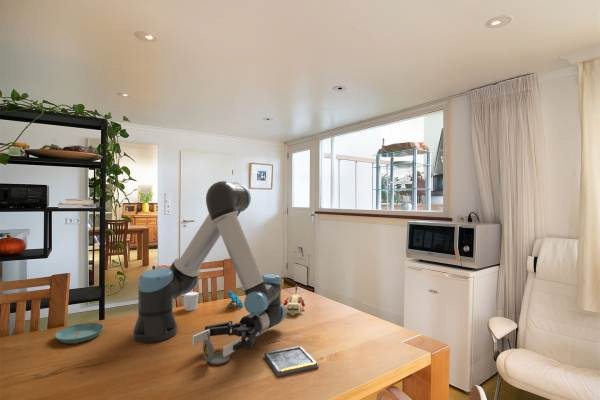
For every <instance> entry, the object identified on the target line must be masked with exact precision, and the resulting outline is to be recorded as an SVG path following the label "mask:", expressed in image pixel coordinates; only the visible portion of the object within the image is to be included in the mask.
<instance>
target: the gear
mask: <svg viewBox="0 0 600 400" xmlns="http://www.w3.org/2000/svg"><path fill="white" fill-rule="evenodd" d="M227 296H228V298H229V299H231V300H230V302H229V303H228V304H227V305H226V307H227V308H230V306H232V305H233V304H235V305H236V306H238V307H239V308H243V307H244V303H243V301H242V300H241V299H240V298H239V296H238V295H237V294H236V293H235V292H233V291H231V290H227Z"/></svg>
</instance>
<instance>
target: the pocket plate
mask: <svg viewBox="0 0 600 400" xmlns="http://www.w3.org/2000/svg"><path fill="white" fill-rule="evenodd" d="M263 357H264V359H265V360H266V362H267V364H268V365H269V367H270V368H271V369H272V370H273V372H274V373H275V375H276V377H277V378H279V377H283V376H284V377H285V376H288V375H293V374H297V373H302V372H306V371H311V370H314V369H318V368H319V363H318V362H317V361H316V360H315V359H314V358H313V357H312V356H311V355H310V354H309V353H308V351H306V350H305V348H303V347H302V346H301V345H299V346H293V347H288V348H283V349H277V350H272V351H267V352H265V353H263Z"/></svg>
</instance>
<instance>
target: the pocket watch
mask: <svg viewBox="0 0 600 400" xmlns="http://www.w3.org/2000/svg"><path fill="white" fill-rule="evenodd" d="M207 332H208V331H207ZM207 332H206V333H207ZM207 335H208V336H207V337H208V339H205V340H204V341H202V342H203V343H202V352H203V356H204V359H205V360H206V362H207V363H209V364H211V365H223V364H225V363H228V362H229V361H230V358H231V356H230V355H231V354H229V355H227V356H225V357H224V356H223V352H216V353H215V349H214V345H213V343H212V340H211V336H210V334H209V332H208V334H207Z"/></svg>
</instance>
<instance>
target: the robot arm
mask: <svg viewBox="0 0 600 400" xmlns="http://www.w3.org/2000/svg"><path fill="white" fill-rule="evenodd" d="M205 194H206V196H205V204H206V209H207V211H208V215H206V218H205V219H204V220H203V222H202V224H201V225H200V227H199V228H198V230H197V231H196V232H195V234H194V236H193V238H192V239H191V240H190V242H189V244H188V246H187V247H186V249H185V251H183V253H182V254H181V257H177V258H175V259H174V260H173V262H172V263H171V265H170V266H169V268H167V267H166V268H165V267H160V268H155V269H149V270H147V271H144V272H143V273H141V274H140V275H139V278H138V285H137V288H138V289H137V290H138V303H137V304H138V305H137V306H138V307H137V309H138V311H137V312H138V313H137V315H138V316H137V319H136V321H135V323H134V327H133V329H132V340H133V341H135V342H138V343H144V344H148V343H149V344H151V343H158V342H162V341H165V340H170V339H171V338H173V337H174V336H176V334H177V333H178V324H177V320H176V318H175V316H174V311H173V300H175V299H177V298H179V297H181V296H183V294H186V293H188V292H192V290H194V289H195V287H196V286H197V284H198V282H199V275H200V274H201V271H200V267H201V266H202V265H203V263H204V261H205V260H206V259H207V257H208V255H209V254H210V252H211V251H212V249H213V248H214V246H215V244H216V243H217V242H218V240H219V238H220V237H221V239H222V241H223V244H224V245H225V249H226V251H227V253H228V255H229V258H230V260H231V262H232V265H233V268H234V270H235V272H236V275H237V277H238V279H239V282H240V284H241V286H242V289H243V292H244V295H245V297H244V301H243V302H244V303H243V307H244V308H245V310H246V312H248V313H249V314H247V315H245V316H242V318H241V319H240V320H239V322H236V323H233V321H232V320H229V321H226V322H222V323H215V324H210V325H206V326H204V330H203V331H201V332H199V333H196V334H194V335H192V345H193V346H195V345H197V344H199V343H202V342H204V340H205V339H208V337H207V336H208V335H207V334H208V332H209V334H210V337H217V336H225V335H227V336H229V337H230V336H237V337H241V338H237V339H236V340H234V341H232V342H230V343H228V344H226V345H224V346H222V353H223V356H224V357H225V356H227V355H231V354H232V353H234V352H237V351H239V350H241V349H247V350H251V349H252V347H253V345H254V344H255V341H257V339H258V338H260V334H261V333H263V332H265V331H266V330H269V329H271V328H272V327H275V326H278V325H279V324H280V323H282V322H283V321H284V320H285V318H286V315H287V312H286V311H287V310H285V309H284V305H283V304H281V302H282V301H281V295H282V294H281V293H282V290H281V279H282V277H281V275H278V274H274V273H267V274H264V275H262V274H261V271H260V269H259V266H258V264H257V262H256V260H255V257H254V254H253V252H252V249H251V248H250V244H249V243H248V240H247V238H246V235H245V233H244V231H243V228H242V225H241V224H240V221H239V218H238V216H240V213H241V212H244V211H245V210H247V209H248V208H249V206H250V204H251V201H252V200H251V199H252V198H251V197H252V196H251V193H250V190H249V188H248V187H246V186H245V185H244V184H242V183H239V182H229V181H224V180H223V181H222V180H221V181H216V182H214V183H212V185H210V187H209V188H208V190H207V191H206V193H205ZM207 331H208V332H207ZM206 332H207V333H206ZM247 338H248V339H247Z"/></svg>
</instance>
